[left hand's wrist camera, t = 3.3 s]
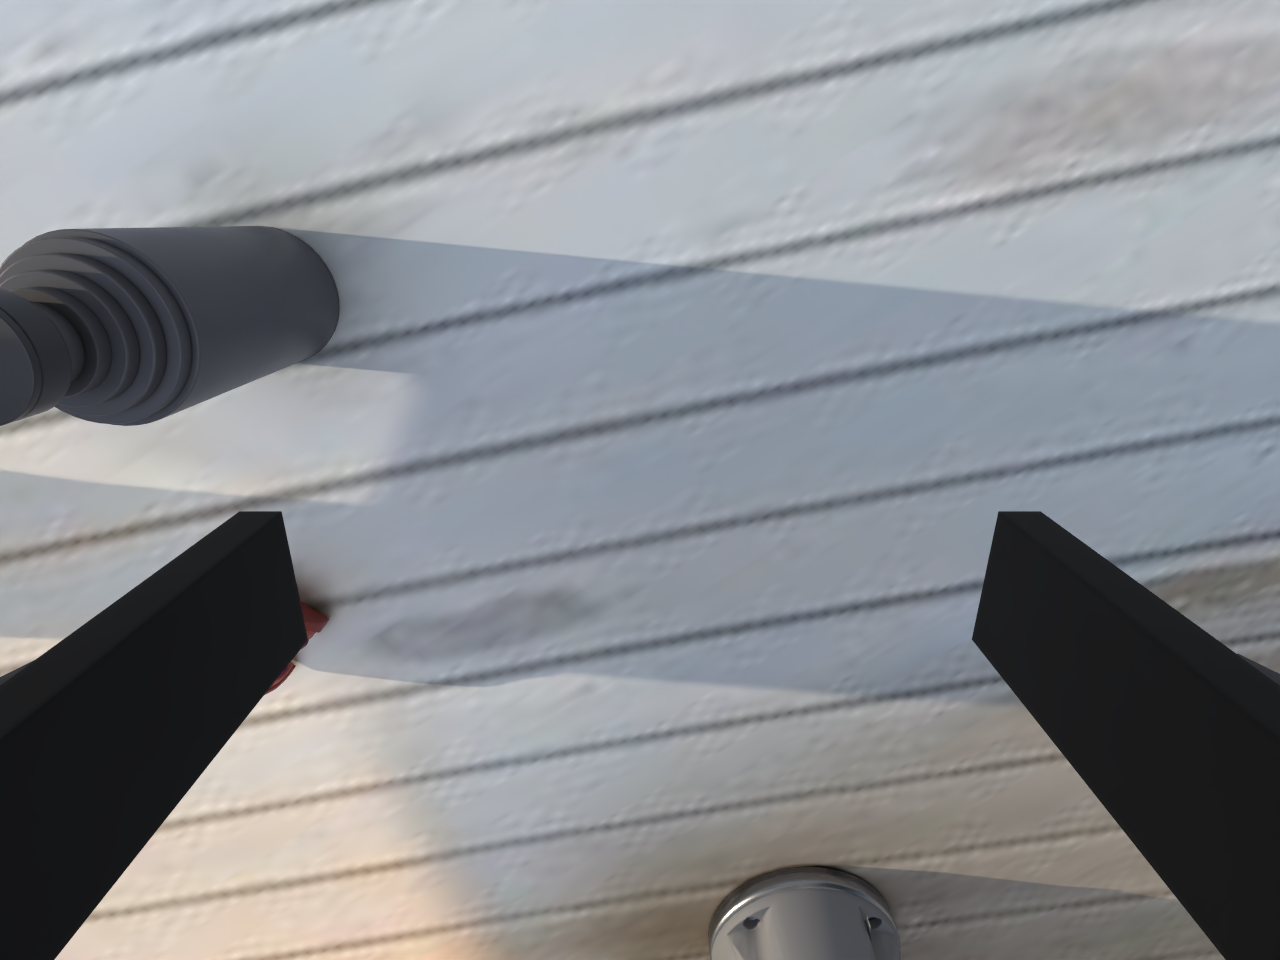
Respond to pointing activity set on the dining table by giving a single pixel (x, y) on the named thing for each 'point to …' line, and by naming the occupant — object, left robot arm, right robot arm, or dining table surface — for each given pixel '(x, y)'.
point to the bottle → (173, 312)
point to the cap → (30, 360)
